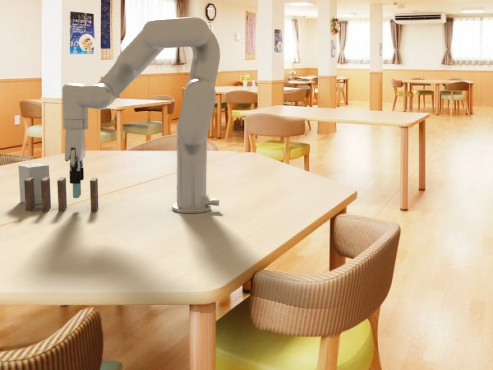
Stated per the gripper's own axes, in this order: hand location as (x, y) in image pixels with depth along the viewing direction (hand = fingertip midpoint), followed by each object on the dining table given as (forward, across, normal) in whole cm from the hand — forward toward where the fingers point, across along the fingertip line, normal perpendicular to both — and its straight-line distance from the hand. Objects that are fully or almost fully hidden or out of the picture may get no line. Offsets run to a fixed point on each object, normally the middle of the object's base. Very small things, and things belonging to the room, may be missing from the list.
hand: (76, 181), depth 191 cm
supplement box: (+10, -10, -16) cm, 21 cm away
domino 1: (+9, 0, -15) cm, 17 cm away
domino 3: (+9, 0, -5) cm, 10 cm away
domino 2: (+9, 0, -10) cm, 13 cm away
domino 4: (+5, 0, 0) cm, 5 cm away
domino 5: (+9, 0, +5) cm, 11 cm away
